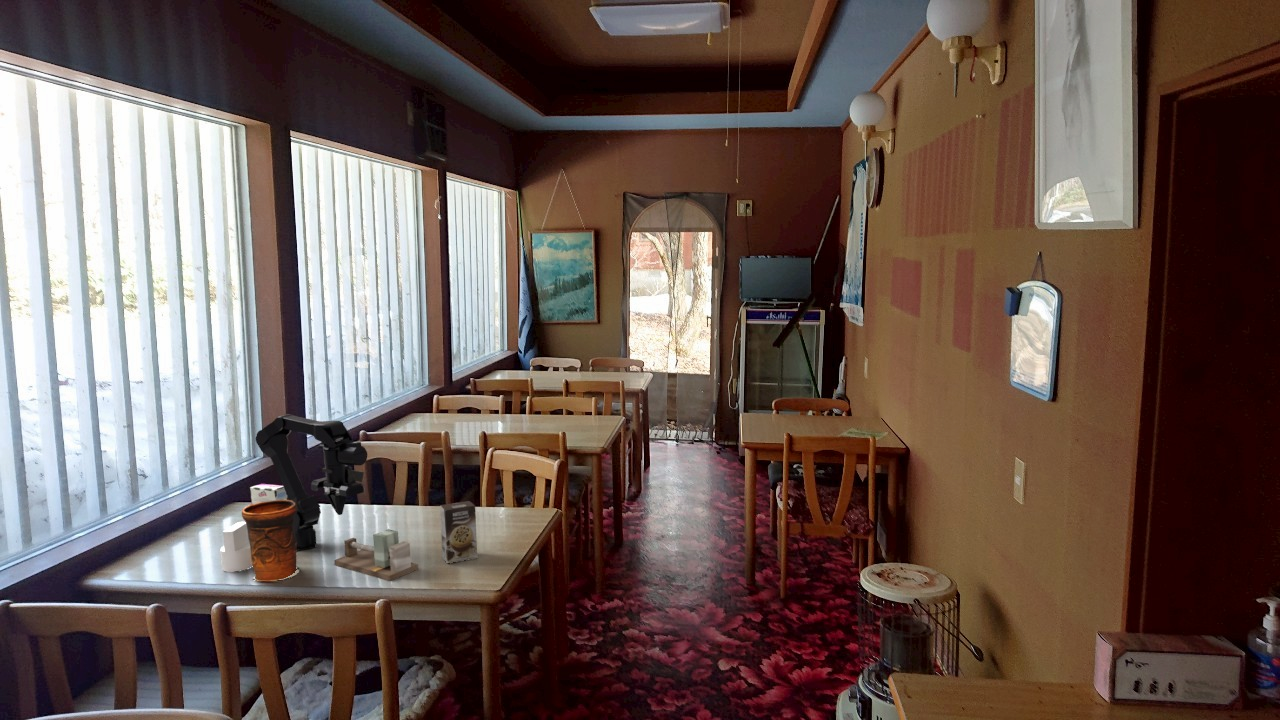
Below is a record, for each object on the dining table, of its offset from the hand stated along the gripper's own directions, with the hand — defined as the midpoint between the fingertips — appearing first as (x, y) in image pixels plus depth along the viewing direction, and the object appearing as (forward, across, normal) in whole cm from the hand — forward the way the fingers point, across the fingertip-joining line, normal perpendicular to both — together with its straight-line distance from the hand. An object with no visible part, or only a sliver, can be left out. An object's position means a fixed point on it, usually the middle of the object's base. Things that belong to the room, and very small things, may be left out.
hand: (340, 514), depth 243 cm
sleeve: (+11, -23, +2) cm, 26 cm away
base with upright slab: (+12, +17, +23) cm, 31 cm away
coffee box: (+14, -34, -16) cm, 40 cm away
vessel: (+12, +2, +21) cm, 24 cm away
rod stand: (+13, -18, +2) cm, 22 cm away
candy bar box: (+11, +35, +3) cm, 37 cm away
